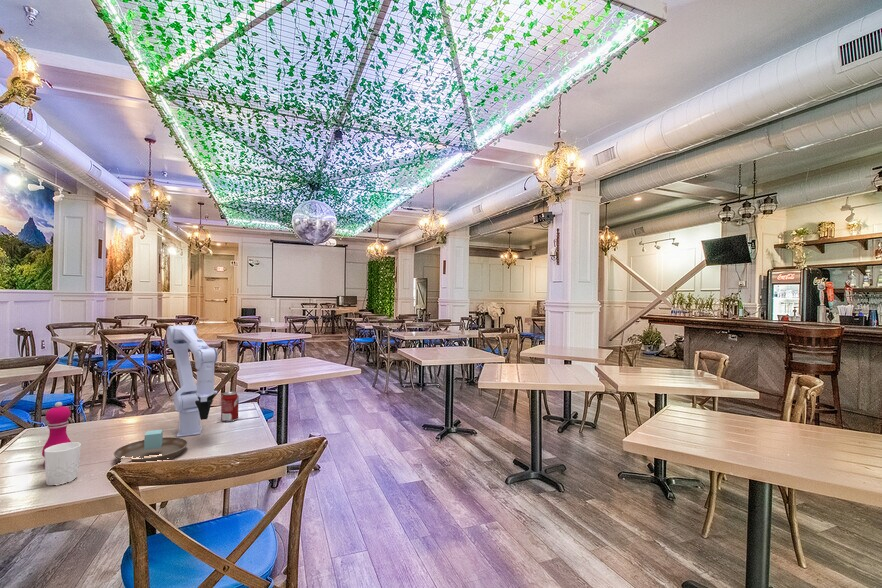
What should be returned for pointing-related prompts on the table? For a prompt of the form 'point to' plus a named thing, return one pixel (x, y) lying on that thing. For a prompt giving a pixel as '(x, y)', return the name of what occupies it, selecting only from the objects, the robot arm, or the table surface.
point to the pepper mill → (57, 426)
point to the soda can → (229, 406)
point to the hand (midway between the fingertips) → (204, 416)
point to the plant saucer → (152, 450)
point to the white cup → (62, 462)
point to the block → (153, 439)
